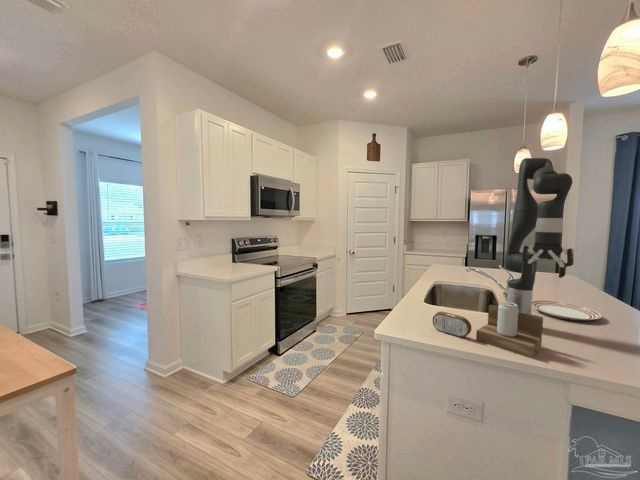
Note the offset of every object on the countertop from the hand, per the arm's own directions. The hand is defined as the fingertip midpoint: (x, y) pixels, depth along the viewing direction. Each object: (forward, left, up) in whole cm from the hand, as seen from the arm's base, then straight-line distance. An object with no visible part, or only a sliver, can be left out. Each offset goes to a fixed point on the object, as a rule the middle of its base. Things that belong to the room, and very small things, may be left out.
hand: (545, 275), depth 101 cm
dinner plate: (-58, -4, -28) cm, 64 cm away
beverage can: (+5, -9, -24) cm, 26 cm away
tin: (+12, -27, -28) cm, 41 cm away
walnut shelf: (+4, -9, -28) cm, 30 cm away
